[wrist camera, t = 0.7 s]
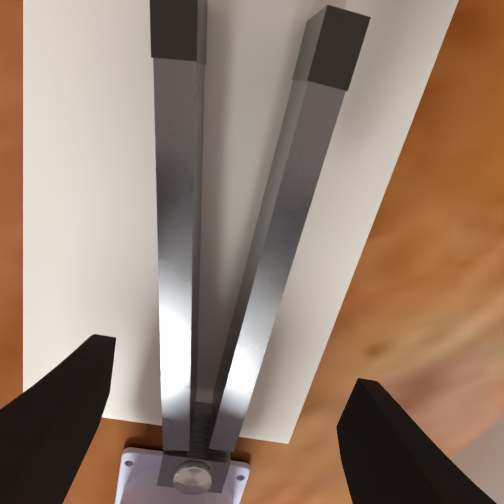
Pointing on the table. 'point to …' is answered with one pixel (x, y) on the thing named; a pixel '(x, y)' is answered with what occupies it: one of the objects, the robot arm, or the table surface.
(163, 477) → the tongs base
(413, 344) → the table surface
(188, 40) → the tongs arm
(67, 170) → the cutting board
